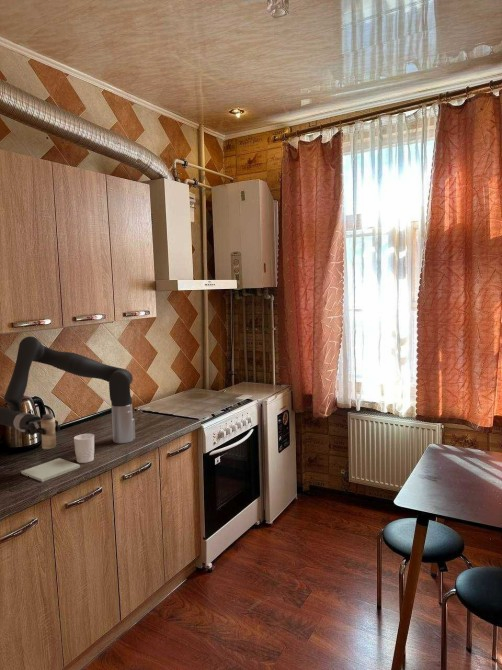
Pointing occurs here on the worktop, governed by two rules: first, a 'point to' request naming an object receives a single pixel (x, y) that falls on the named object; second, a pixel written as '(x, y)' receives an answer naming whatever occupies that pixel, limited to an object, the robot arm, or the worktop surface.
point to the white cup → (84, 448)
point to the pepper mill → (48, 431)
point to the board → (50, 469)
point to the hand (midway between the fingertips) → (52, 430)
